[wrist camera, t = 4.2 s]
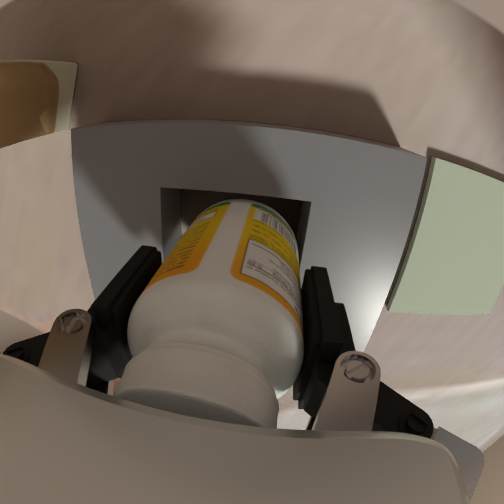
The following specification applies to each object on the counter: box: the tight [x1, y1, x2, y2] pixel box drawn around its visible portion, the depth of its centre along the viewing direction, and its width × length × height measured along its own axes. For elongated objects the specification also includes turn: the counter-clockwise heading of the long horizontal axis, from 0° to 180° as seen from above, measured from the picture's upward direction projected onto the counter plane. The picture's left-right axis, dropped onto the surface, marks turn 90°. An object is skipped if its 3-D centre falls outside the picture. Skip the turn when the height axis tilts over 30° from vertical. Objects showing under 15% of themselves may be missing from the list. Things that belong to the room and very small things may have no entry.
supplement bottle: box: [113, 199, 304, 428], centre depth 10 cm, size 5×5×10 cm
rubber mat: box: [386, 156, 504, 315], centre depth 15 cm, size 10×10×1 cm
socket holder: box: [71, 119, 427, 352], centre depth 15 cm, size 16×12×3 cm
